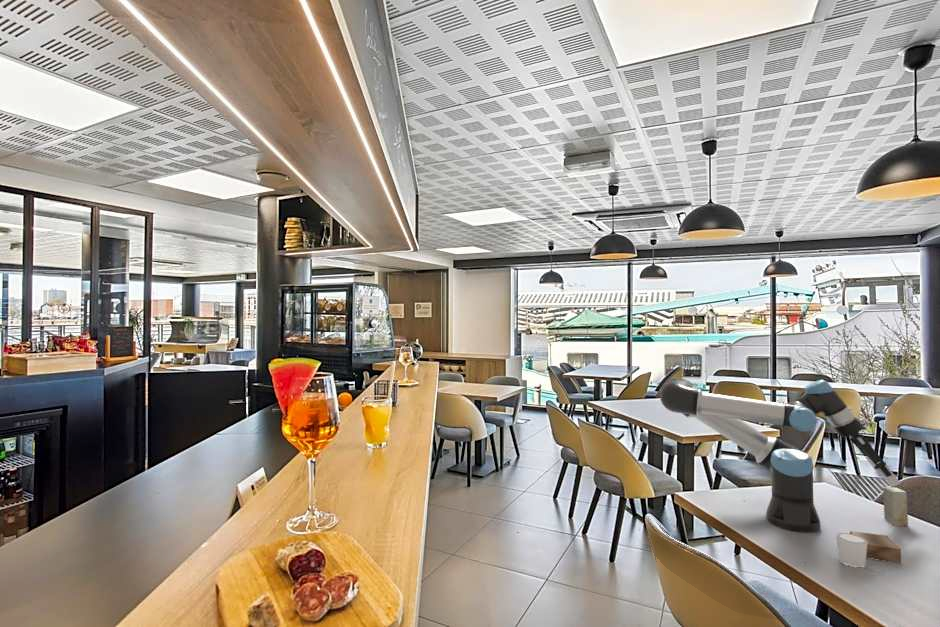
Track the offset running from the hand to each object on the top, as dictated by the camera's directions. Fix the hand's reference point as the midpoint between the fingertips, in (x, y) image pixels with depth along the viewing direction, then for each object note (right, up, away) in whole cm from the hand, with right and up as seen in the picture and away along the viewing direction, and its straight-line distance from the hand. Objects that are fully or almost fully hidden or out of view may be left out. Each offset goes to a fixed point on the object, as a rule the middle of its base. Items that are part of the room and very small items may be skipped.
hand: (889, 478), depth 160 cm
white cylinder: (-32, -15, -25) cm, 44 cm away
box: (+3, -15, +1) cm, 16 cm away
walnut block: (-22, -15, -20) cm, 33 cm away
